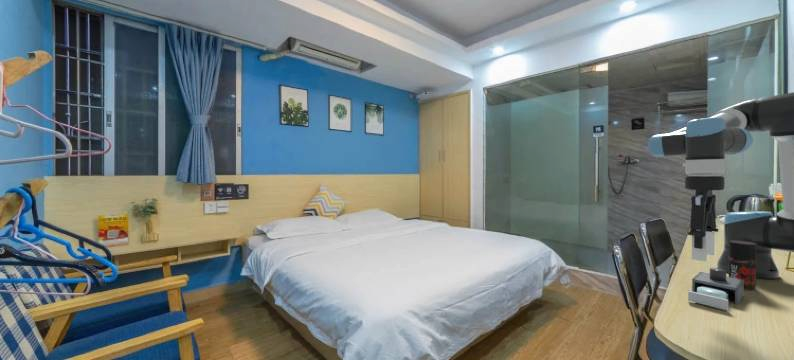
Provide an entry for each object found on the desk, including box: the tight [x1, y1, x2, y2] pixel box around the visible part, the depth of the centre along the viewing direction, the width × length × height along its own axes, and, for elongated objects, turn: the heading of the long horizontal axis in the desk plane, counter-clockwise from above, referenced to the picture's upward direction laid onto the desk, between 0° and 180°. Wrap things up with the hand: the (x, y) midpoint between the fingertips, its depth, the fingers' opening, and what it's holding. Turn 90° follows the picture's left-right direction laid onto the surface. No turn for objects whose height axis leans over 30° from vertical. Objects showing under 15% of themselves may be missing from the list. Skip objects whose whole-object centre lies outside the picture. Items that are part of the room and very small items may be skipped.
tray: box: [687, 290, 730, 311], centre depth 89 cm, size 11×8×3 cm
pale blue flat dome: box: [697, 287, 727, 299], centre depth 89 cm, size 6×6×2 cm
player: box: [691, 267, 745, 305], centre depth 94 cm, size 11×10×8 cm
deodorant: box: [728, 240, 757, 292], centre depth 99 cm, size 6×6×15 cm
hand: (703, 257), depth 82 cm, fingers open, 9 cm apart
